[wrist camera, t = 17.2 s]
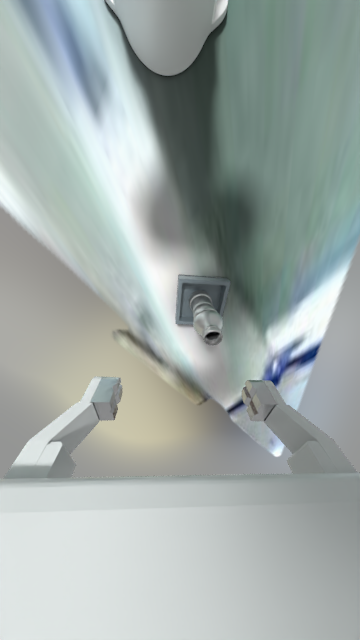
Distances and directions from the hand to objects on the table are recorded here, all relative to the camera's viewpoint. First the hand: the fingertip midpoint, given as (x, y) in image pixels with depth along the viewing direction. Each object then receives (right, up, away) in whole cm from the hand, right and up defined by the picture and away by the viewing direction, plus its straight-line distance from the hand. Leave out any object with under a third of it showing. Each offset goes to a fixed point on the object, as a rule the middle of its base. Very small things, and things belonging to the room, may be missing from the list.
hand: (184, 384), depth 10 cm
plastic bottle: (+5, +11, +37) cm, 39 cm away
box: (+6, +11, +38) cm, 40 cm away
